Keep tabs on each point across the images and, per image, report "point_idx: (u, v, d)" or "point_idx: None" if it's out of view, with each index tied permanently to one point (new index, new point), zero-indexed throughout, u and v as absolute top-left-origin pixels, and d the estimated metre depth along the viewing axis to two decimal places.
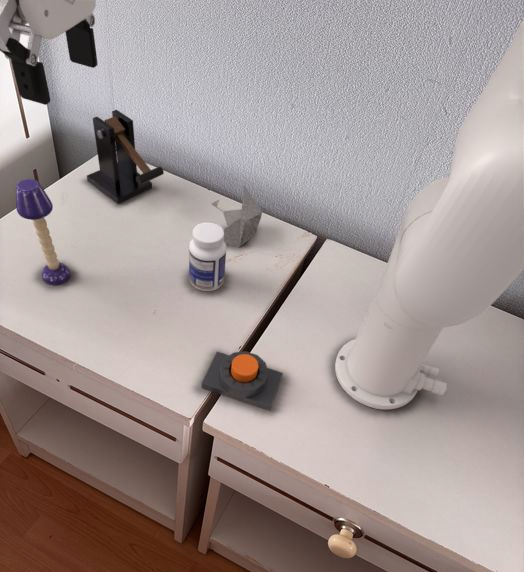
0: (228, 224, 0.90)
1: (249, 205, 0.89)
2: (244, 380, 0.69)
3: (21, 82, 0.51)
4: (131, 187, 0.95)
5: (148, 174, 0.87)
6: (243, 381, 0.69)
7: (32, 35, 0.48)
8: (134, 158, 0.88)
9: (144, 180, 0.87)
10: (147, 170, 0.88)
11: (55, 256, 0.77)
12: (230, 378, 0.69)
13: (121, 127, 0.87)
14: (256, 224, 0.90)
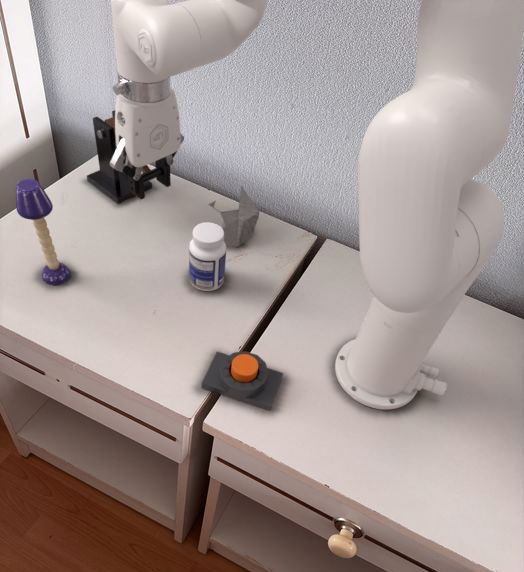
0: (226, 225, 0.89)
1: (246, 205, 0.89)
2: (244, 380, 0.69)
3: (130, 185, 0.87)
4: None
5: (148, 174, 0.87)
6: (243, 381, 0.69)
7: None
8: None
9: (144, 180, 0.87)
10: (147, 170, 0.88)
11: (55, 256, 0.77)
12: (230, 378, 0.69)
13: None
14: (254, 224, 0.90)
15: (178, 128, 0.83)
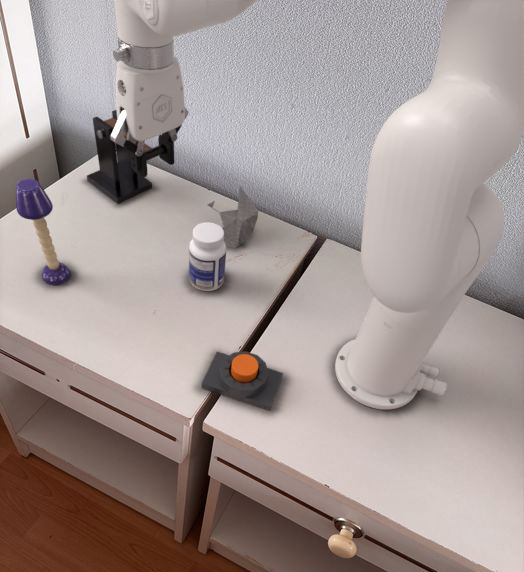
0: (225, 225, 0.89)
1: (245, 205, 0.89)
2: (244, 380, 0.69)
3: (132, 162, 0.83)
4: (131, 187, 0.95)
5: (149, 150, 0.83)
6: (243, 381, 0.69)
7: (138, 140, 0.79)
8: (135, 143, 0.85)
9: (146, 155, 0.83)
10: (149, 148, 0.84)
11: (55, 256, 0.77)
12: (230, 378, 0.69)
13: None
14: (253, 224, 0.90)
15: (182, 100, 0.79)
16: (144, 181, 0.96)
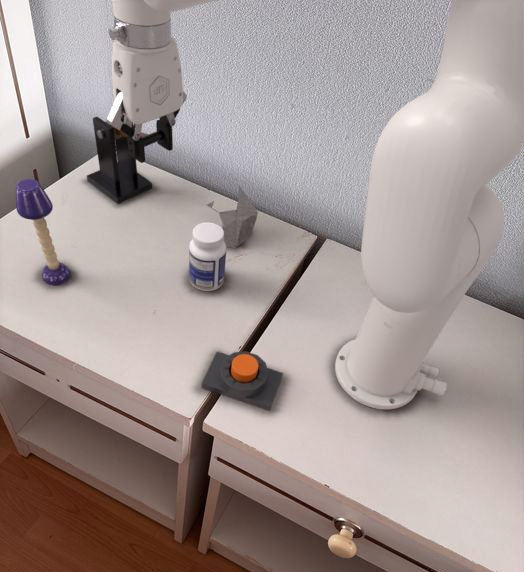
0: (224, 225, 0.89)
1: (244, 205, 0.89)
2: (244, 380, 0.69)
3: (129, 147, 0.81)
4: (131, 187, 0.95)
5: (146, 136, 0.82)
6: (243, 381, 0.69)
7: (135, 124, 0.77)
8: None
9: None
10: None
11: (55, 256, 0.77)
12: (230, 378, 0.69)
13: None
14: (252, 224, 0.90)
15: (180, 83, 0.77)
16: (144, 181, 0.96)
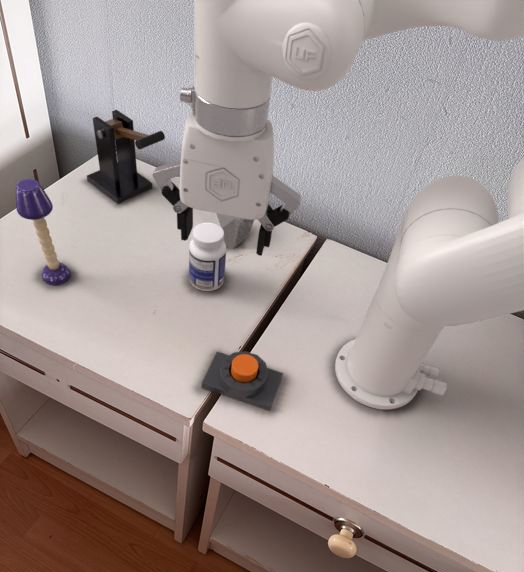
0: (222, 225, 0.89)
1: None
2: (244, 380, 0.69)
3: None
4: (131, 187, 0.95)
5: (146, 136, 0.82)
6: (243, 381, 0.69)
7: None
8: (133, 135, 0.84)
9: (143, 141, 0.81)
10: (146, 136, 0.83)
11: (55, 256, 0.77)
12: (230, 378, 0.69)
13: (118, 121, 0.87)
14: (250, 224, 0.89)
15: (260, 191, 0.56)
16: (144, 181, 0.96)
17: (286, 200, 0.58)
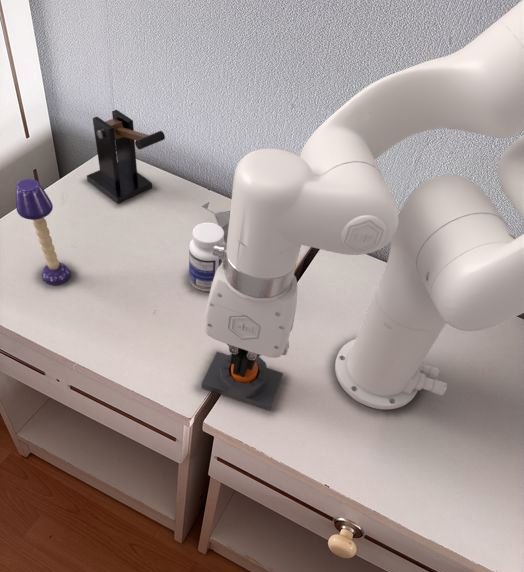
0: (220, 226, 0.89)
1: None
2: None
3: None
4: (131, 187, 0.95)
5: (146, 136, 0.82)
6: None
7: None
8: (133, 135, 0.84)
9: (143, 141, 0.81)
10: (146, 136, 0.83)
11: (55, 256, 0.77)
12: (230, 378, 0.69)
13: (118, 121, 0.87)
14: None
15: (279, 338, 0.59)
16: (144, 181, 0.96)
17: None
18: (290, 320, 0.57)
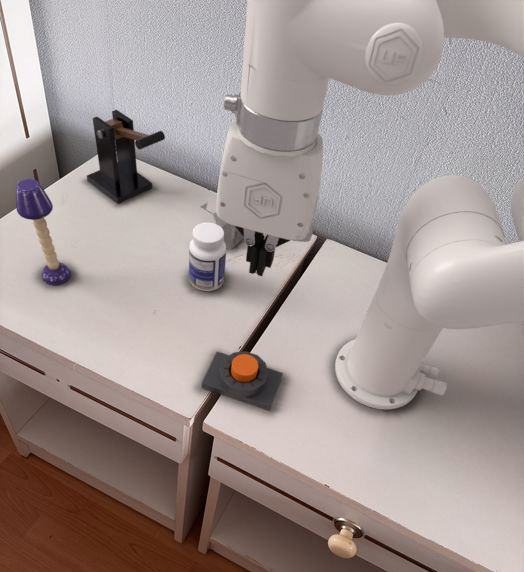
0: None
1: None
2: (244, 380, 0.69)
3: None
4: (131, 187, 0.95)
5: (146, 136, 0.82)
6: (243, 381, 0.69)
7: None
8: (133, 135, 0.84)
9: (143, 141, 0.81)
10: (146, 136, 0.83)
11: (55, 256, 0.77)
12: (230, 378, 0.69)
13: (118, 121, 0.87)
14: None
15: (304, 211, 0.51)
16: (144, 181, 0.96)
17: None
18: (316, 186, 0.50)
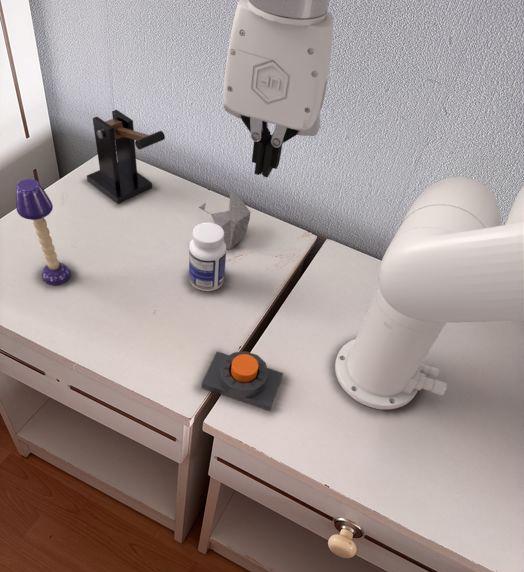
0: None
1: (237, 206, 0.88)
2: (244, 380, 0.69)
3: None
4: (131, 187, 0.95)
5: (146, 136, 0.82)
6: (243, 381, 0.69)
7: (250, 118, 0.56)
8: (133, 135, 0.84)
9: (143, 141, 0.81)
10: (146, 136, 0.83)
11: (55, 256, 0.77)
12: (230, 378, 0.69)
13: (118, 121, 0.87)
14: (245, 225, 0.89)
15: (311, 93, 0.50)
16: (144, 181, 0.96)
17: None
18: (324, 65, 0.49)
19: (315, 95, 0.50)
